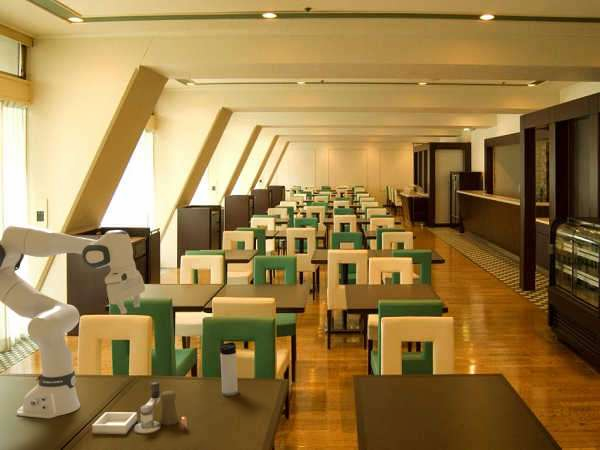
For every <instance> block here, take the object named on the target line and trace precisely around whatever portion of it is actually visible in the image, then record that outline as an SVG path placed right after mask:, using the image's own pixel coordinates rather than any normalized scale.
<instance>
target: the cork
mask: <svg viewBox="0 0 600 450" xmlns="http://www.w3.org/2000/svg"><path fill="white" fill-rule="evenodd" d="M176 396H177V395H176V393H175V391H174V390H166V391H165V390H164V391H163V392H162V393H161V394H160V401H161V402H162V407H161V418H160V424H161V425H163V426H172V425H176V424H177V423H178V422H179V418H178V414H177V407H176V404H175V403H176V402H175V400H176ZM176 422H177V423H176ZM171 424H172V425H171Z"/></svg>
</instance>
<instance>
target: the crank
mask: <svg viewBox="0 0 600 450" xmlns="http://www.w3.org/2000/svg"><path fill="white" fill-rule="evenodd" d="M150 393H151V395H150V396H151V397H150V399H149V400H148V401H147V403H146V404H144V405H142V406H140V414H142V415H148V414H151V413H152V412H153V413H154V411H153V409H155V408H156V406H157V405H158V404H159V403H160V402H161V394H160V393H161V390H160V382H159V381H153V382H151V383H150Z"/></svg>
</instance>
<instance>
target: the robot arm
mask: <svg viewBox="0 0 600 450" xmlns="http://www.w3.org/2000/svg"><path fill="white" fill-rule="evenodd" d="M71 253H73V254H79V255H81V258H82V262H83V263H84V264H85V266H87V267H88V268H90V269H101V268H104V267H106V266H109V267H110V271H109V273H108V274H107V275H106V276H105V278H104V283H105V285H106V292H107V297H108V302H109V303H110V305H116V306H117V307H118V309H119V310H120V315H125V314H127V313H128V309H127V307H125V302H126V301H128V300H130V299H132V298H134V299H133V308H140V305H141V303H140V300H141V294H142V293H144V292H145V290H146V287H145V282H144V279H143V276H142V274H141V273H140V271H139V270H138V269H137V265H136V262H135V259H134V258H133V257H134V250H133V243H132V240H131V237H130V235H129V233H128V232H127V231H126V230H123V229H114V230H113V229H111V230H107V231H106V232H105V233H104V235H103V236H101V237H100V238H98V239H94V238H89V237H88V238H87V237H83V236H76V235H75V236H74V235H72V234H71V235H70V234H66V233H63V232H58V231H55V230H52V229H51V230H50V229H48V228H44V227H39V226H34V225H29V224H28V225H27V224H11V225H9V226H7V227H6V228H5V229H4V231H3V233H2V236H1V239H0V302H1V303H2V304H3V305H5V306H6V307H8V309H10V310H11V311H13V312H14V313H15V314H17V315H18V316H20V317H23V318H27V319H30V321H29V323H28V325H27V334H28V336H29V337H30V339H31V340H33V342H35V343H36V345H37V347H38V350H39V354H40V360H41V362H40V363H41V371H42V373H41V374H39V375H38V377H36V378H35V381H36V382H38V384H37V385H35V386H34V387H33V388H32V389H31V390H30V391H28V392H27V393H26V394H25V395H24V397H23V404H22V405H21V406H20V407H19V408H18V409H17V410H16V416H20V417H21V416H22V417H29V418H30V417H31V418H41V419H53V418H56V417H59V416H62V415H66V414H70V413H73V412H75V411H77V410H79V409H80V408H81V404H80V401H79V398H78V394H77V391H76V390H77V389H76V372H75V369H74V359H73V350H72V348H70V347H69V346H68V345H67V342H66V337H65V336H66V335H65V334H68V333H69V332H71V331H72V330H73V329H74V328H75V327H76V326H77V325H78V324H79V321H80V318H81V317H80V313H79V310H78V308H77V307H76V306H74V305H72V304H68V303H63V302H61V301H59V300H57V299H54V298H53V297H50V296H48V295H46V294H44V293H43V292H40V291H39V290H37V289H36V288H35V287H34V286H32V285H31V284H29V283H28V282H27V281H26V280H24V278H22V277H20V276H19V275H18V274H17V273H16V271H17V270H19V269H20V268H21V264H22V262H23V260H24V257H25V256H29V257H34V258H35V257H36V258H49V257H54V256H57V255H58V256H59V255H64V254H71Z"/></svg>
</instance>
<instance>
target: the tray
mask: <svg viewBox="0 0 600 450" xmlns="http://www.w3.org/2000/svg"><path fill="white" fill-rule="evenodd" d="M137 421H138V413H137V412H134V411H133V412H132V411H131V412H126V411H119V412H118V411H117V412H116V411H113V412H112V411H110V412H109V411H106V412H104V413H103V414H102V415H100V417H99V418H98V419H97V420H96V421H95V422H94V423H92V425H91V427H92V428H91V429H92V434H96V435H100V434H102V435H108V434H109V435H126V434H127V433H128V432H129V430H130V429H131V428H133V426H134V425H136V424H135V423H137Z"/></svg>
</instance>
